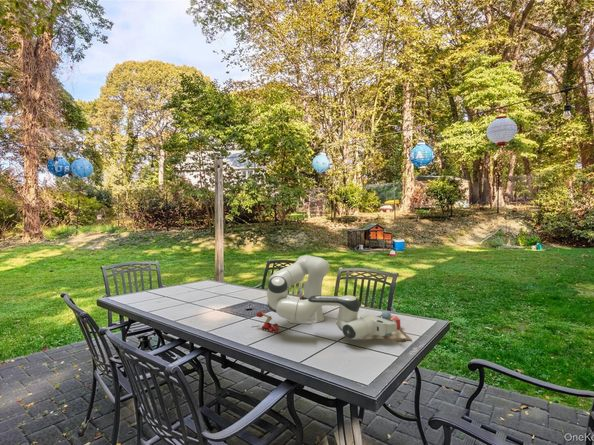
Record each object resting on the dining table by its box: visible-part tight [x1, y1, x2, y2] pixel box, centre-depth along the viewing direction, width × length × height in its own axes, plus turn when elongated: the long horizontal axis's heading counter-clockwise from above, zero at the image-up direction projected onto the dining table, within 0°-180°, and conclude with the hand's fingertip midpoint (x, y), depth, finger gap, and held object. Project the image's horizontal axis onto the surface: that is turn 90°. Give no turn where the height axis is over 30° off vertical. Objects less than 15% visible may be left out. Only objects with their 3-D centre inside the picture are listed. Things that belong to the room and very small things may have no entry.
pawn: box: [381, 310, 392, 337], centre depth 177 cm, size 6×6×13 cm
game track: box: [349, 328, 413, 343], centre depth 177 cm, size 34×14×1 cm, turn 94°
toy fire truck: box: [256, 311, 280, 334], centre depth 187 cm, size 3×14×10 cm, turn 59°
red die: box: [391, 315, 401, 330], centre depth 190 cm, size 6×6×6 cm
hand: (387, 319), depth 178 cm, fingers open, 8 cm apart
